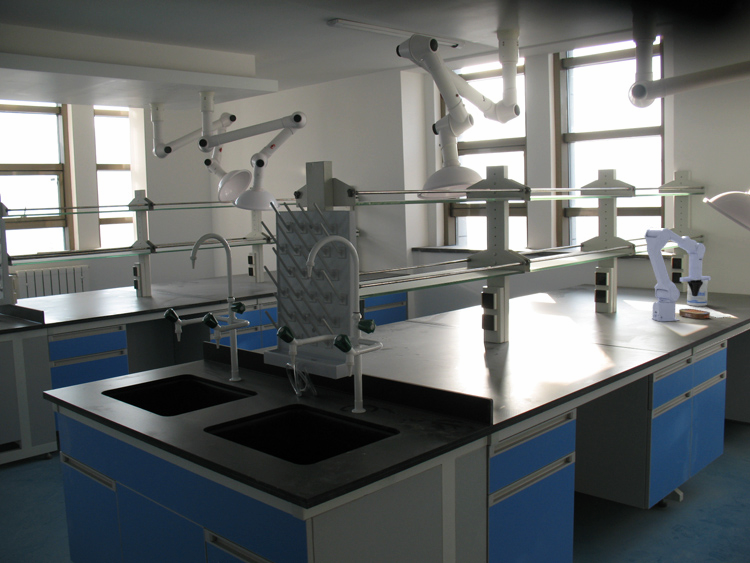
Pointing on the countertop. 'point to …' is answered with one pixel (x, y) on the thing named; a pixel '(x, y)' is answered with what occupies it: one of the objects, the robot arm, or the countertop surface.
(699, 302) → the supplement tub
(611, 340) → the countertop surface
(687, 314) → the tin
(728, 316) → the mat
